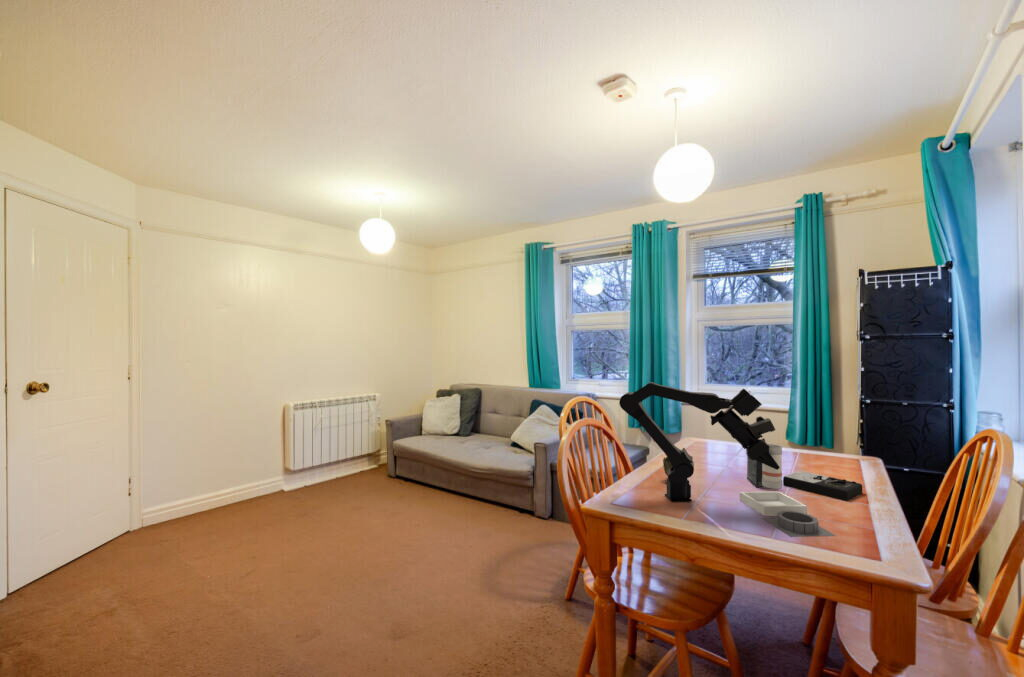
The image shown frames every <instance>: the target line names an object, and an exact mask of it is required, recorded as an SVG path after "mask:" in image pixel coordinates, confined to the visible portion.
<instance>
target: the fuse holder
mask: <svg viewBox="0 0 1024 677" xmlns="http://www.w3.org/2000/svg"><path fill="white" fill-rule="evenodd" d="M777 515H778V516H777V517H762V518H761V519H762V520H764V521H765V522H767V523H769V524H771V525H772V526H773V527H775V528H776V529H778V530H780V531H781V532H782V533H784V534H786V535H787V536H788V537H790V538H797V537H799V538H801V537H803V538H807V537H837V535H836V534H834V533H832V532H830V531H829V530H827V529H825V528H823V527H822V526H820V525H819V520H818V518H816V517H815V516H813V515H811V514H808V513H807V514H805V513H802V512H801V513H800V512H796V511H780V512H778V513H777Z"/></svg>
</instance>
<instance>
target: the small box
mask: <svg viewBox="0 0 1024 677" xmlns="http://www.w3.org/2000/svg"><path fill="white" fill-rule="evenodd" d="M746 456H747V455H746ZM746 460H747V463H746V465H747V467H746V469H747V470H746V473H747V474H746V479H747V480H748V482H750V483H751V484H752V485H753V486H754V487H755V488H763V489H768V488H767V487H764V486H762V463H761V462H759V461H756V460H753V461H752V460H751V459H750V458H749V457H748V456H747V458H746Z"/></svg>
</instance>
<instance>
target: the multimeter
mask: <svg viewBox="0 0 1024 677" xmlns="http://www.w3.org/2000/svg"><path fill="white" fill-rule="evenodd" d="M782 478H783V479H782V486H784V487H788V488H791V489H795V490H800V491H803V492H807V493H808V492H809V493H811V494H817V495H819V496H825V497H828V498H830V499H831V498H832V499H836V500H839V501H843V502H848V501H851V500H853V499H855V498H856V497H859V496H861V495H863V491H864V490H863V484H861V483H859V482H856V481H853V480H851V481H849V480H846V479H844V478H843V479H841V478H836V477H833V476H832V477H831V476H828V475H823V474H818V473H813V472H810V471H809V472H808V471H805V470H798V471H796V472H793V473H789V474H787V475H785V476H783V477H782Z"/></svg>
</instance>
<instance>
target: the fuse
mask: <svg viewBox="0 0 1024 677" xmlns="http://www.w3.org/2000/svg"><path fill="white" fill-rule="evenodd" d="M767 444H768V445H769V453H770V455H771V456H772V457H773V459H774V460H775V461H776V463H777V464H778V465H779V467H780V468H779V469H778V470H776V469H774V468H772V467H770V466H768V465H765V464H763V463H762V486H764V487H767V488H766V489H773V490H779V489H780V490H781V489H783V479H782V478H783V477H782V476H783V472H782V471H783V469H782V466H783V465H782V464H783V462H782V458H783V457H782V455H783V446H782V445H779V444H773V443H767Z"/></svg>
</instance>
